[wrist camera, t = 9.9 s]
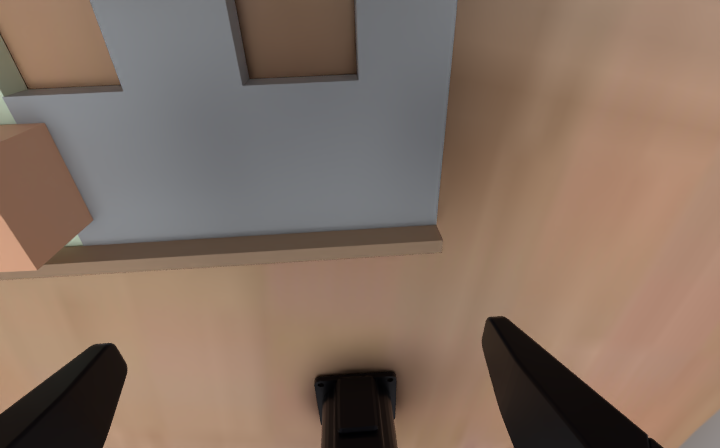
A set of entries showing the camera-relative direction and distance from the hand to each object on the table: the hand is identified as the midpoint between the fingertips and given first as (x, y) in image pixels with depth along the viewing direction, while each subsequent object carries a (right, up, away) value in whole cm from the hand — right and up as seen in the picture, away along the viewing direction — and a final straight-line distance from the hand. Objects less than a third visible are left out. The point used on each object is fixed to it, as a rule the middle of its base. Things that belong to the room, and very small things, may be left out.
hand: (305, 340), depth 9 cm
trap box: (-8, +8, +9) cm, 14 cm away
